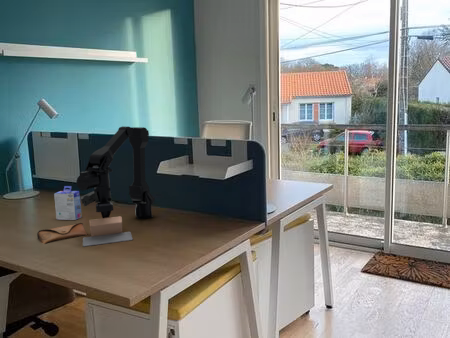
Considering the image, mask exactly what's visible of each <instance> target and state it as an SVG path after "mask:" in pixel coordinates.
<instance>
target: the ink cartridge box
mask: <svg viewBox="0 0 450 338" xmlns="http://www.w3.org/2000/svg"><path fill="white" fill-rule="evenodd" d="M63 187H64V188H63V190H60V191H57V192H55V193H54V194H53V195H54V197H53V198H54V204H55V205H54V206H55V219H56V220H58V221H59V220H60V221H61V220H63V221H66V220H67V221H76V220H78V219H81V218H82V217H83V215H82V204H81V203H82V202H81V199H80V198H81V196H80V193H81V192H80V190H72V189H73V188H72V185H64V186H63Z"/></svg>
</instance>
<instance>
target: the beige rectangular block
mask: <svg viewBox="0 0 450 338" xmlns="http://www.w3.org/2000/svg"><path fill="white" fill-rule="evenodd" d="M88 220H89V221H88V222H89V231H90V237H91V236H99V235H107V234H115V233H123V218H122V216H120V215H119V216H111V217H110V216H109V218H95V219H88Z"/></svg>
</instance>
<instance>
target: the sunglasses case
mask: <svg viewBox="0 0 450 338" xmlns="http://www.w3.org/2000/svg"><path fill="white" fill-rule="evenodd" d="M84 226H85V225H84V223H82V222H78V223H77V222H76V223H75V224H71V225H64V226H63V225H62V226H58V227H52V228H45V229H40V230H38V232H37V233H36V236H37V240H38V241H39V242H40V243H41V244H42V243H43V244H42V245H46V244H50V243H54V242H58V241H64V240H69V239H73V238H79V237H84V236H85V237H86V236H89V234H88V233H87V231H86V230H85V227H84Z"/></svg>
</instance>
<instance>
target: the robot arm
mask: <svg viewBox="0 0 450 338" xmlns="http://www.w3.org/2000/svg"><path fill="white" fill-rule="evenodd" d="M149 137H150V132H149V130H148V129H147V128H146V127H143V126H142V127H140V126H139V127H138V126H137V127H135V126H134V127H133V126H132V127H130V126H123V125H122V126H120V127H119V128H117V131H116V132H115V133H114V134H113V136H112V137H111V138H110V139H109V140H108V141H107V142H106V144H105V145H104V146H102V147H100V148H99V149H97V150H95V151H94V152H93V153H91V154H90V156H89V159H88V161H87V164H86V166H85V169H84V171H80V172H79V176H78V177H77V178H76V185H77V188H78V189H79V191H82V192H83V191H87V190H92V189H93V191H91V192H88V193H87V194H84V195H82V196H80V202H81V203H82V205H83V207H87V206H89V205H90V204H91V203H94V202H95V203H96V204H95V210H96V211H95V212H96V213H100V214H101V217H102V218H109V217H110V216H111V213H112V211H114V204H113V202H112V193H111V184H110V173H113V169H112V168H111V167H110V166H111V164H112V162H113V161H114V155H115V154H116V153H117V151H118V150H119V149H120V148H121V146H123V145H124V143H125V142H126V141H127V140H128V142H129V143H130V146H131V147H132V160H133V165H132V166H133V181H132V184H131V185H128V196H129V198H130V200H131V202H132V204H135V206H134V211H135V217H136V218H137V219H138V220H143V219H150V218H153V217H154V215H153V214H152V213H153V212H152V205H153V204H155V201H156V200H155V198H156V197H155V196H153V195H152V193H151V192H150V186H149V184H148V183H147V182H146V150H145V149H146V147H147V145H148V143H149V139H150V138H149Z"/></svg>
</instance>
